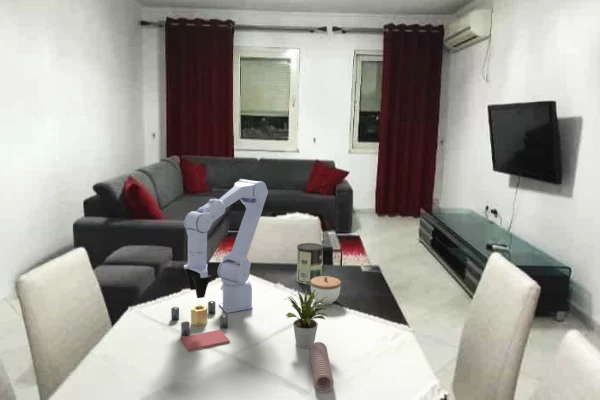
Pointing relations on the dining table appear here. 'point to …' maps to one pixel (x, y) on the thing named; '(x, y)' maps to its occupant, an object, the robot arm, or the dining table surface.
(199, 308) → the brass nut
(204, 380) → the dining table surface
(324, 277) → the lidded jar
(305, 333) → the house plant
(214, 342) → the red mat
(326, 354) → the coil
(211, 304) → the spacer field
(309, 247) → the coffee can
